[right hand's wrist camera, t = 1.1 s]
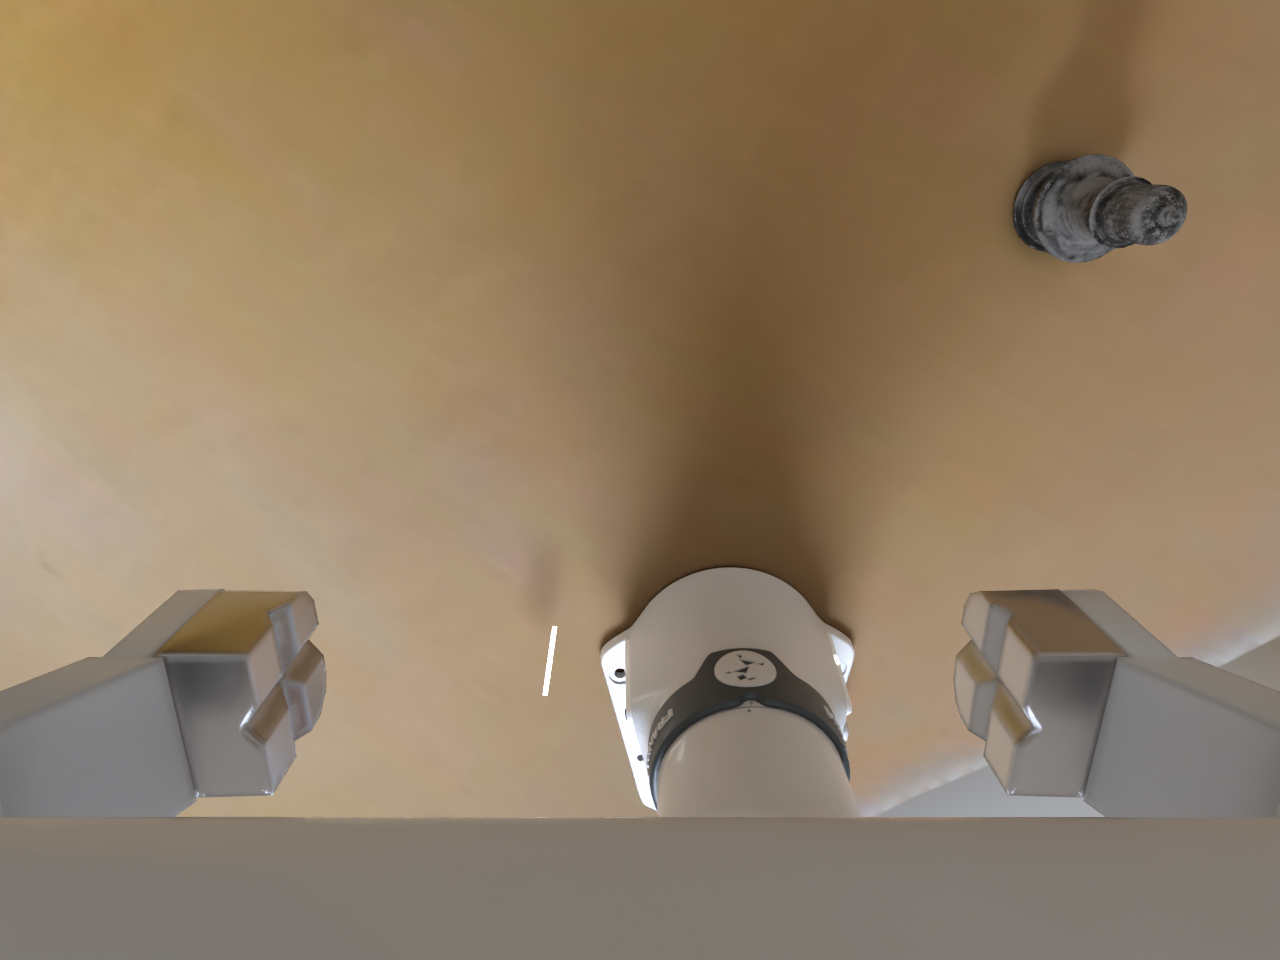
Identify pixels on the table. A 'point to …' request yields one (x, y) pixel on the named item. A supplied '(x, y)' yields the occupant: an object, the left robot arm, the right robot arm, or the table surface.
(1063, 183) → the grey chess piece
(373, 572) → the table surface
